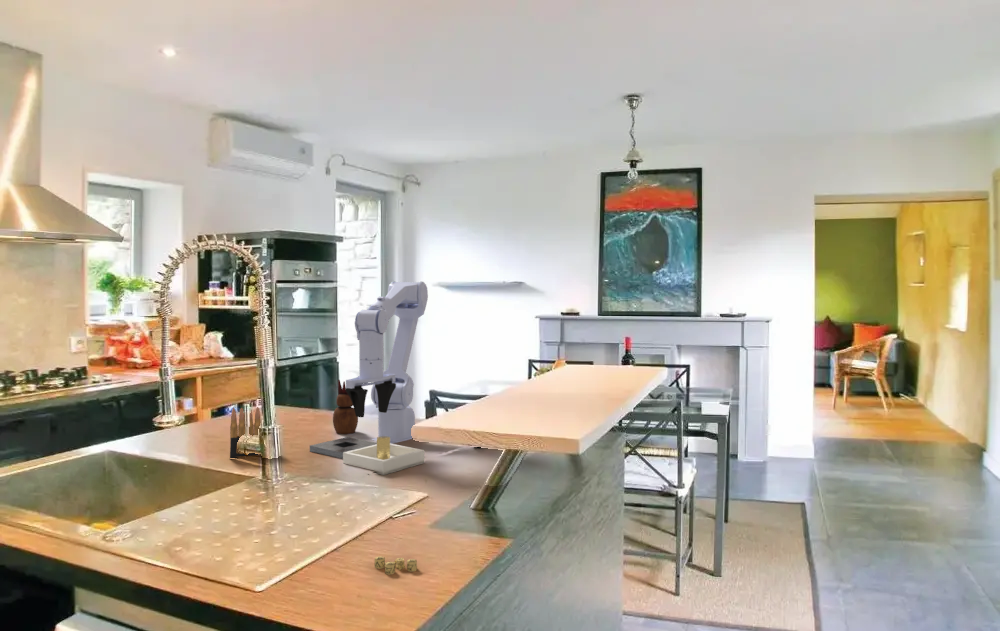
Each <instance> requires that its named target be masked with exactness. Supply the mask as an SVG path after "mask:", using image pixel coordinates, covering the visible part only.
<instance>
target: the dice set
mask: <svg viewBox="0 0 1000 631" xmlns="http://www.w3.org/2000/svg"><path fill="white" fill-rule="evenodd" d="M385 560H386V558H385V557H384V556H375V557H374V568H375V569H377V570H379V569H380V570H381V569H384V574H386V575H389V576H390V575H394V574H395V573H396V571H395V570H398V571H400V570H403V569H405V568H406V569H407V570H406V571H407V572H410V573H411V572H412V573H413V572H416V571H417V570H418V569H417V568H418V562H417V559H415V558H409V559H408V560H406V565H405V559H404V557H397V558H396V559H395V560H394V561H387V562H386V561H385Z"/></svg>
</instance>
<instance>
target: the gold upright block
mask: <svg viewBox="0 0 1000 631" xmlns="http://www.w3.org/2000/svg"><path fill="white" fill-rule="evenodd" d="M376 438H377V441H376V443H377V459H382V460H385V459H388V458H390V437H387V436H381V437H378V436H377V437H376Z"/></svg>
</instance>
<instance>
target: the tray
mask: <svg viewBox="0 0 1000 631" xmlns="http://www.w3.org/2000/svg"><path fill="white" fill-rule="evenodd" d="M342 463H343V464H346V465H350V466H354V467H358V468H361V469H362V468H363V469H367V470H371V471H373V472H372V473H373V474H376V475H377V474H378V475H381V476H386V475H389V474H392V473H395V472H399V471H402V470H406V469H409V468H412V467H413V468H414V467H415V466H419V465H423V464H425V450H424V449H420V448H416V447H415V448H414V447H410V446H406V445H399V444H397V443H394V444H391V443H390V458H388V459H385V460H382V459H377V444H376V445H372V446H368V447H364V448H360V449H356V450H352V451H348V452H343V459H342Z"/></svg>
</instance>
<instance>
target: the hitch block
mask: <svg viewBox="0 0 1000 631" xmlns="http://www.w3.org/2000/svg"><path fill="white" fill-rule="evenodd" d="M376 444H377V442H376V441H375V442H374V441H370V440H364V439H359V438H354V437H350V436H346V437H342V438H337V439H333V440H328V441H324V442H320V443H319V442H318V443H314V444H309V452H311V453H315V454H319V455H324V456H328V457H332V458H337V459H340V460H343V452H348V451H352V450H356V449H360V448H364V447H368V446H372V445H376Z"/></svg>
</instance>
